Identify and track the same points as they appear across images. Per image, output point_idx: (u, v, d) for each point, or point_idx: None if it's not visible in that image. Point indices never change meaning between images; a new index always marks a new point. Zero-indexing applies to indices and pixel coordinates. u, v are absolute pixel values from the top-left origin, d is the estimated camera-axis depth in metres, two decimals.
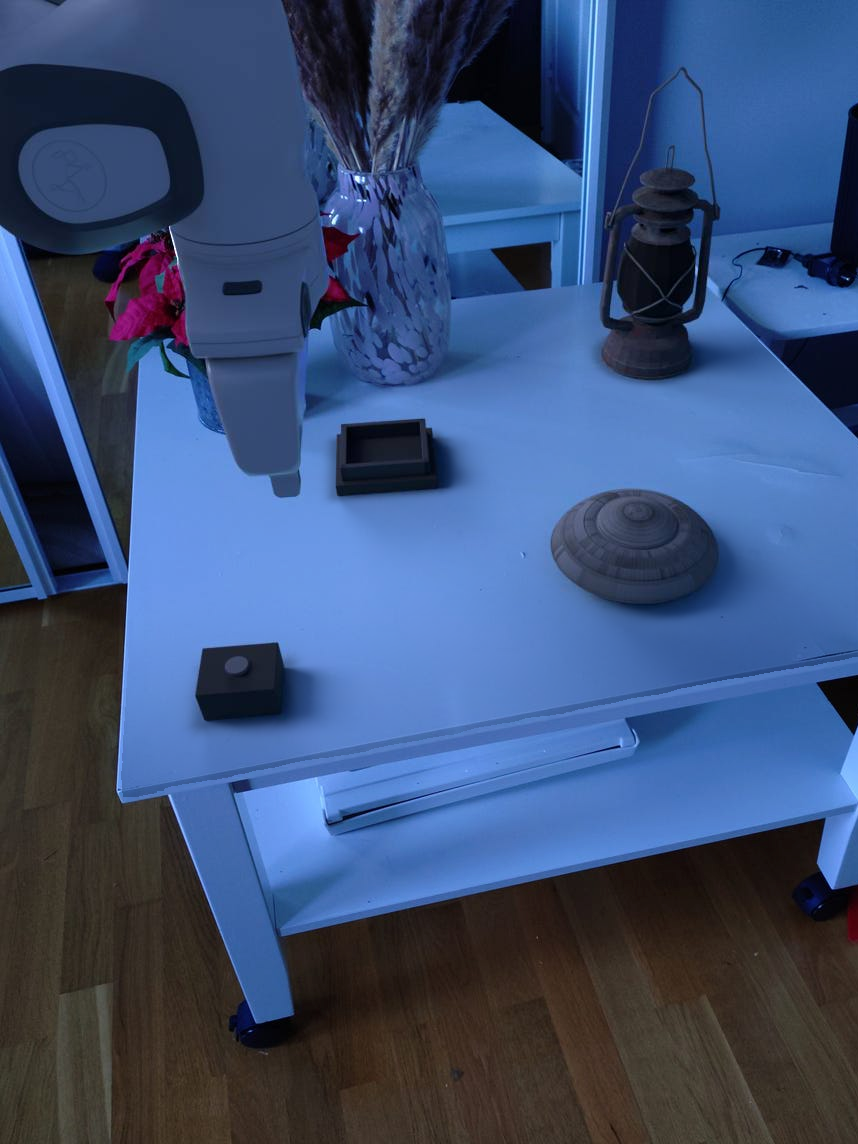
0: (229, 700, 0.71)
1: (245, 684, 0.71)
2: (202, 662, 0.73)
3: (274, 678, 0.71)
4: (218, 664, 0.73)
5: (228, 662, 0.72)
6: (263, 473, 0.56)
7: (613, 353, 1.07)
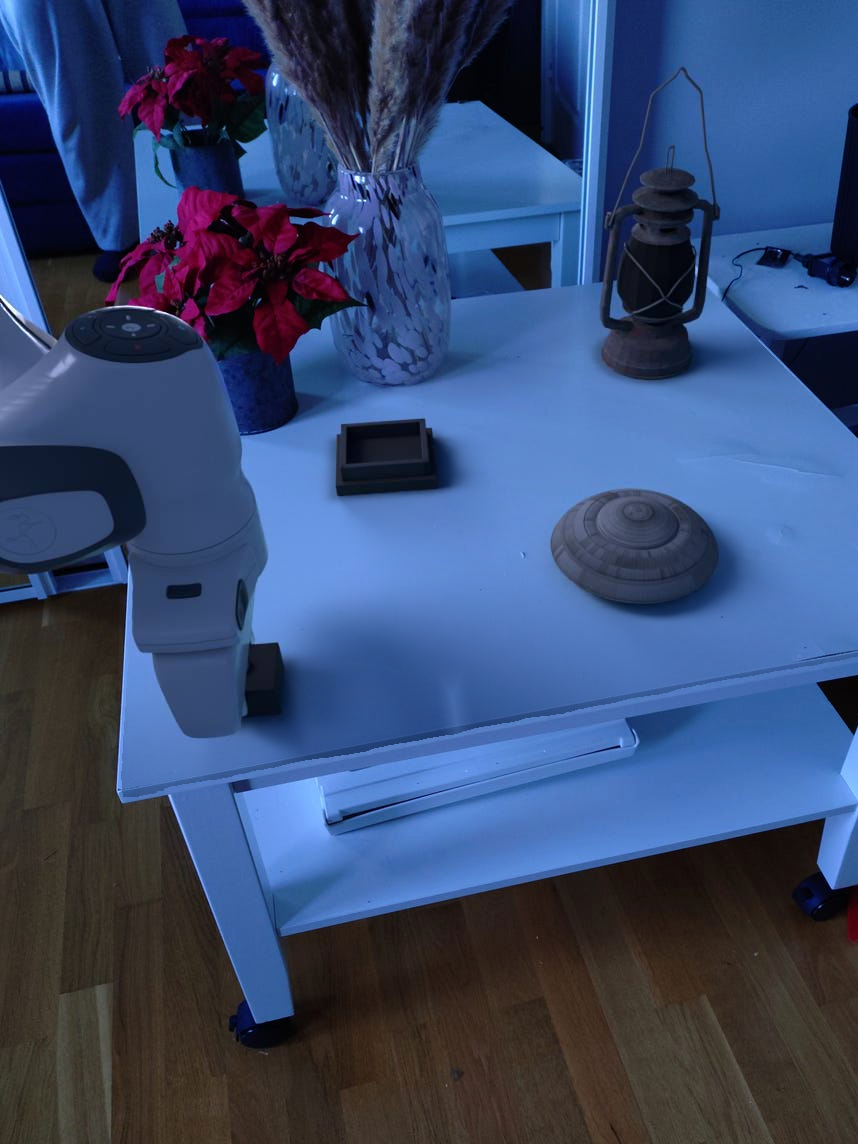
0: None
1: (246, 684, 0.71)
2: None
3: (274, 678, 0.71)
4: None
5: None
6: None
7: (613, 353, 1.07)
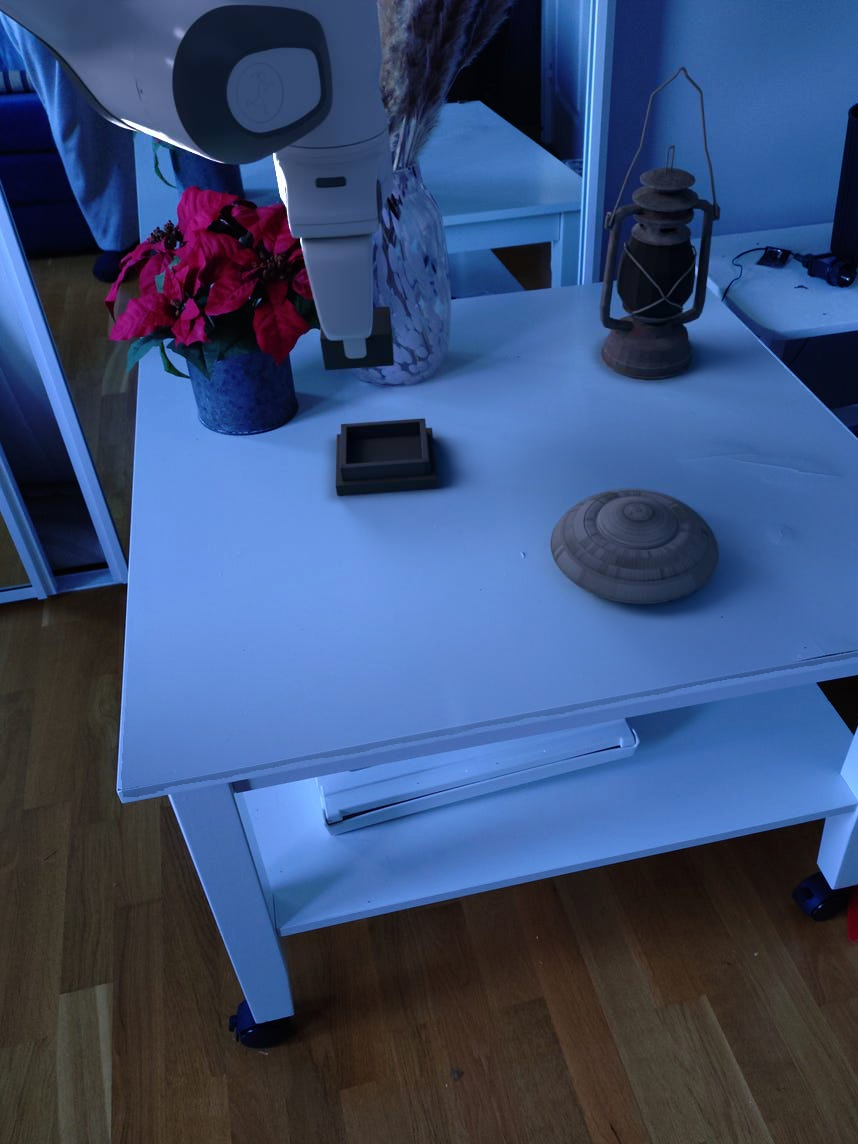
0: None
1: None
2: None
3: (389, 327, 0.80)
4: None
5: None
6: (343, 336, 0.71)
7: (613, 353, 1.07)
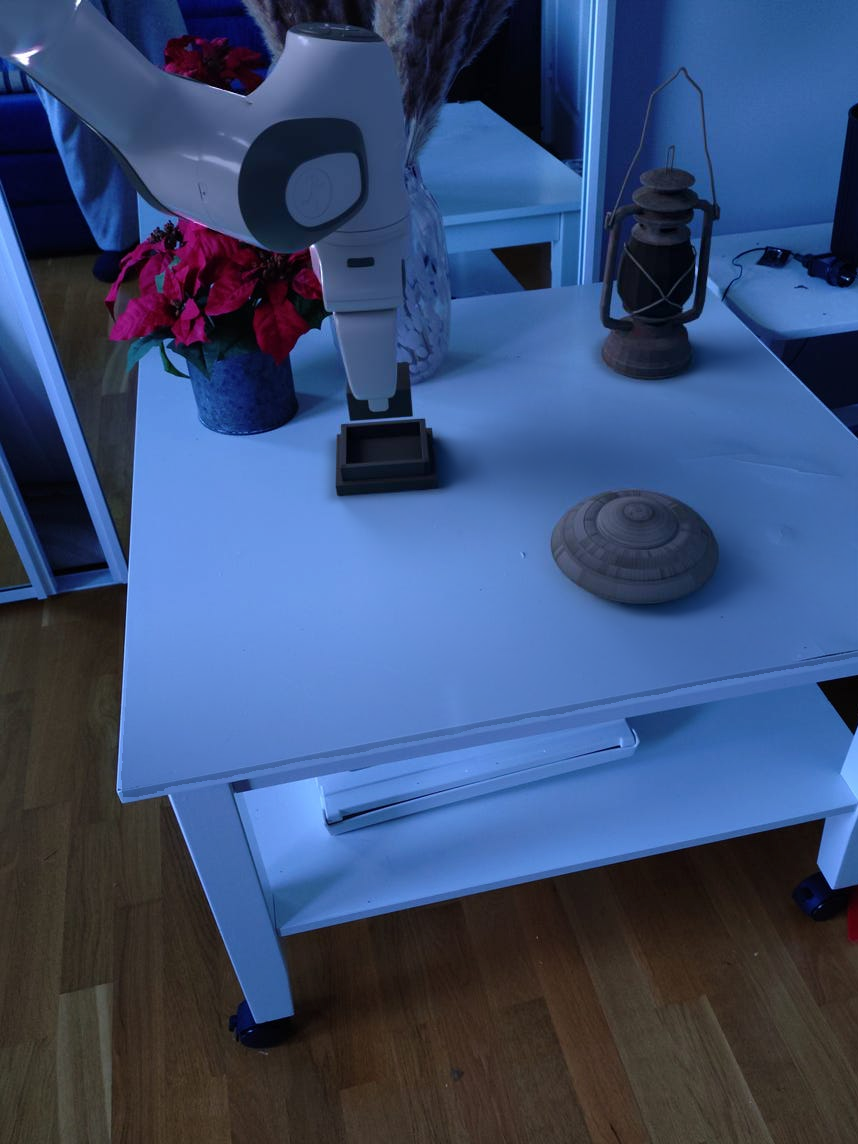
0: None
1: None
2: None
3: (409, 383, 0.87)
4: None
5: None
6: (369, 397, 0.78)
7: (613, 353, 1.07)
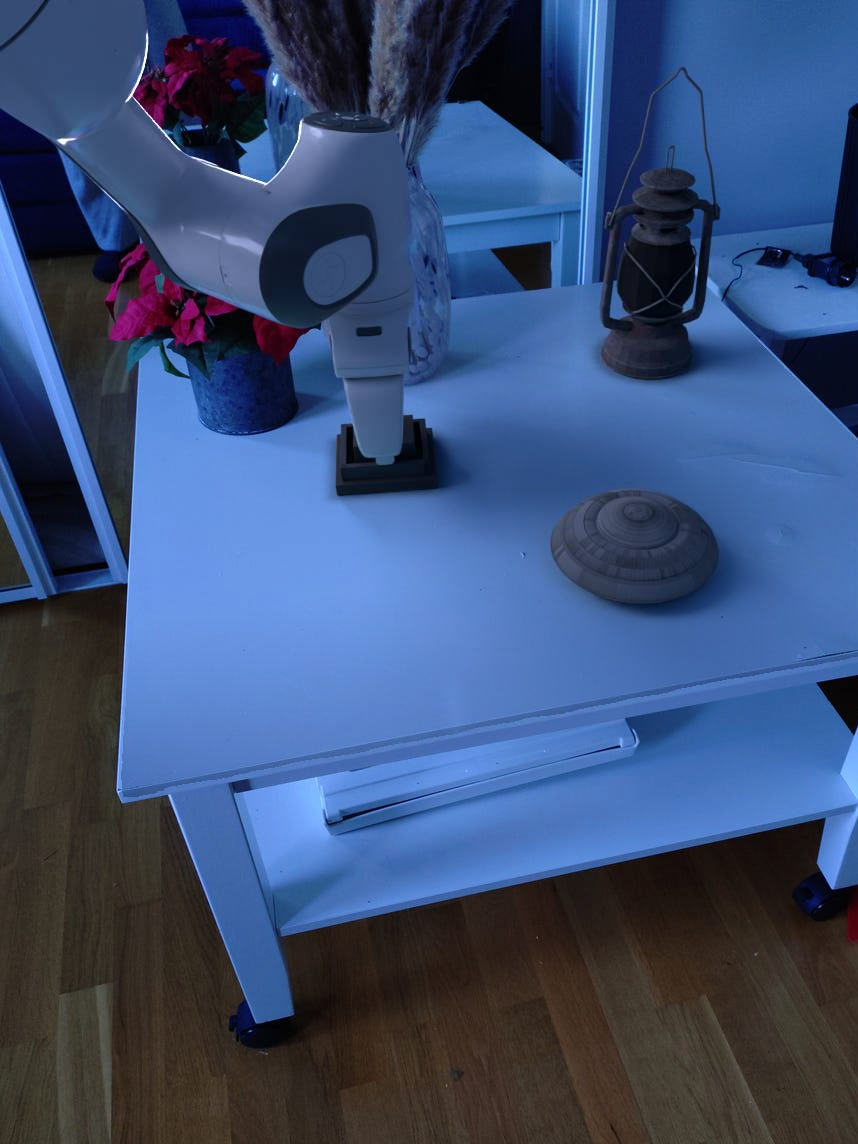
0: None
1: None
2: None
3: (413, 436, 0.92)
4: None
5: None
6: (377, 455, 0.83)
7: (613, 353, 1.07)
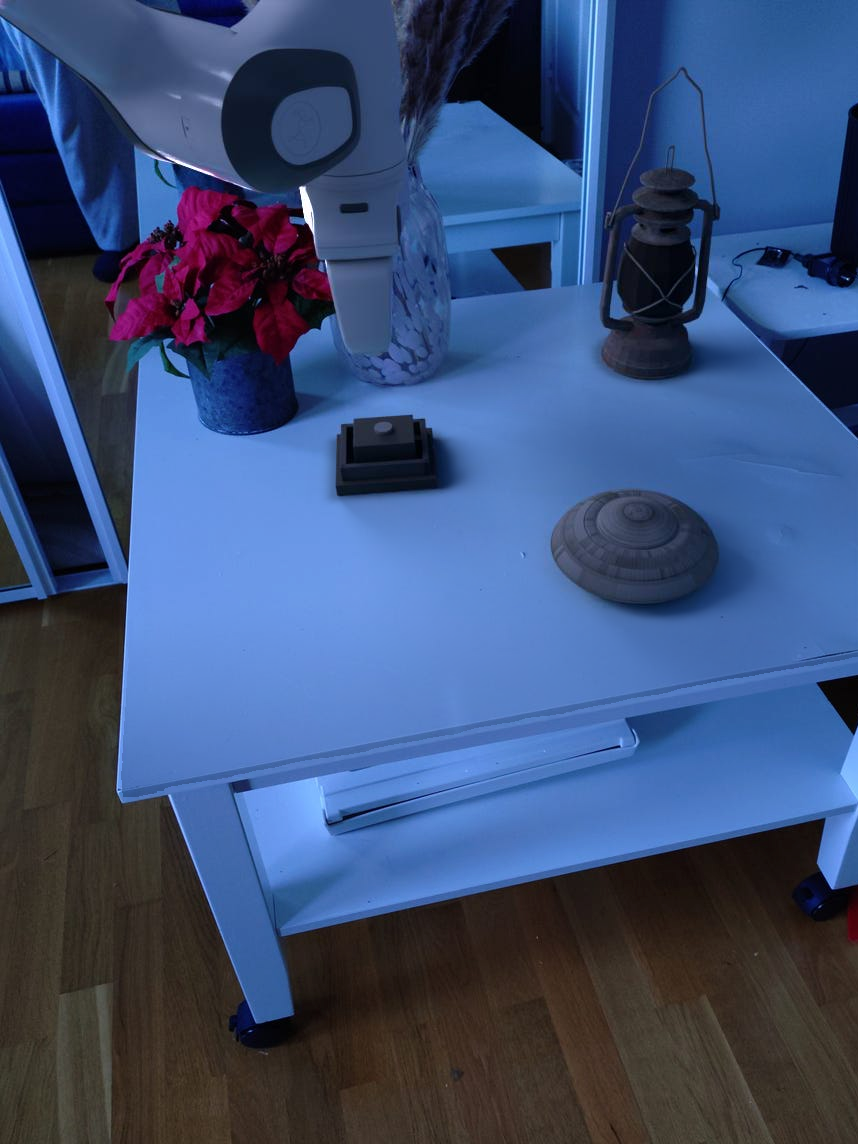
0: (379, 452, 0.91)
1: (392, 439, 0.91)
2: (355, 427, 0.93)
3: (413, 436, 0.92)
4: (368, 428, 0.93)
5: (376, 425, 0.92)
6: (363, 351, 0.75)
7: (613, 353, 1.07)
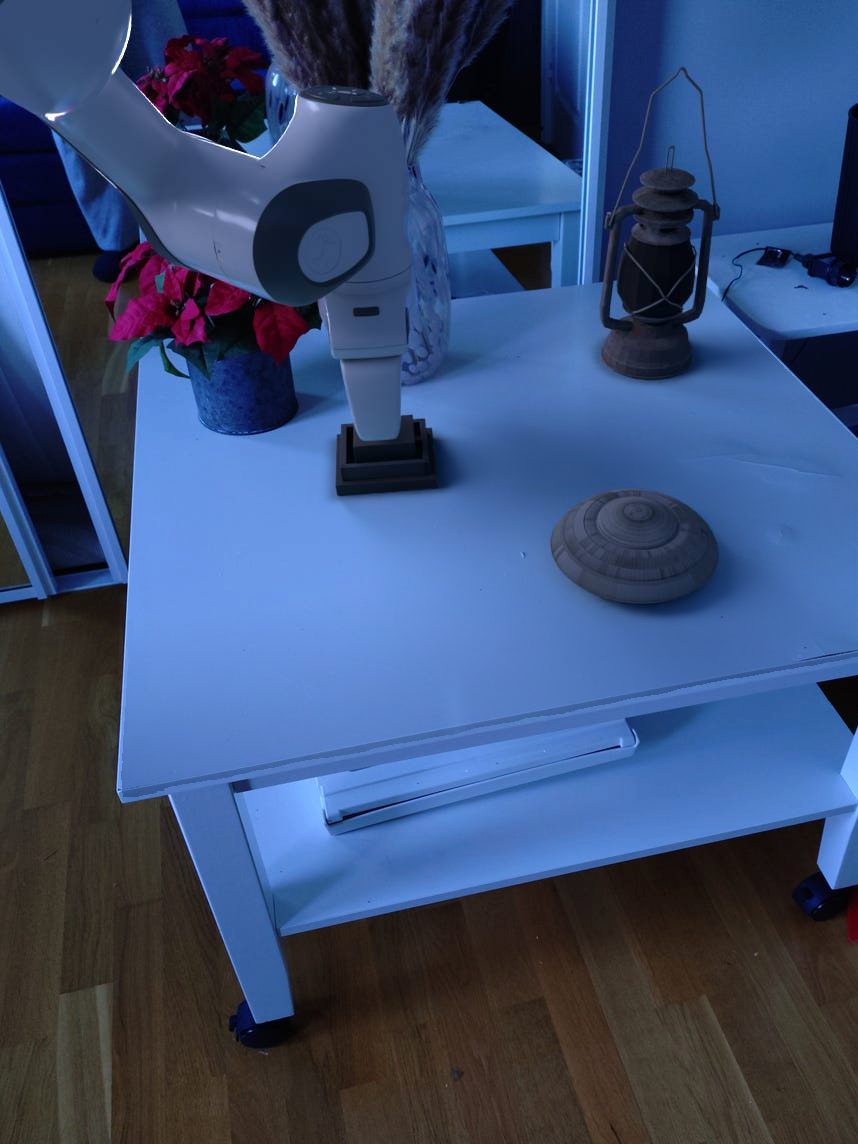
0: (379, 452, 0.91)
1: (392, 439, 0.91)
2: None
3: (413, 436, 0.92)
4: None
5: None
6: (374, 438, 0.81)
7: (613, 353, 1.07)
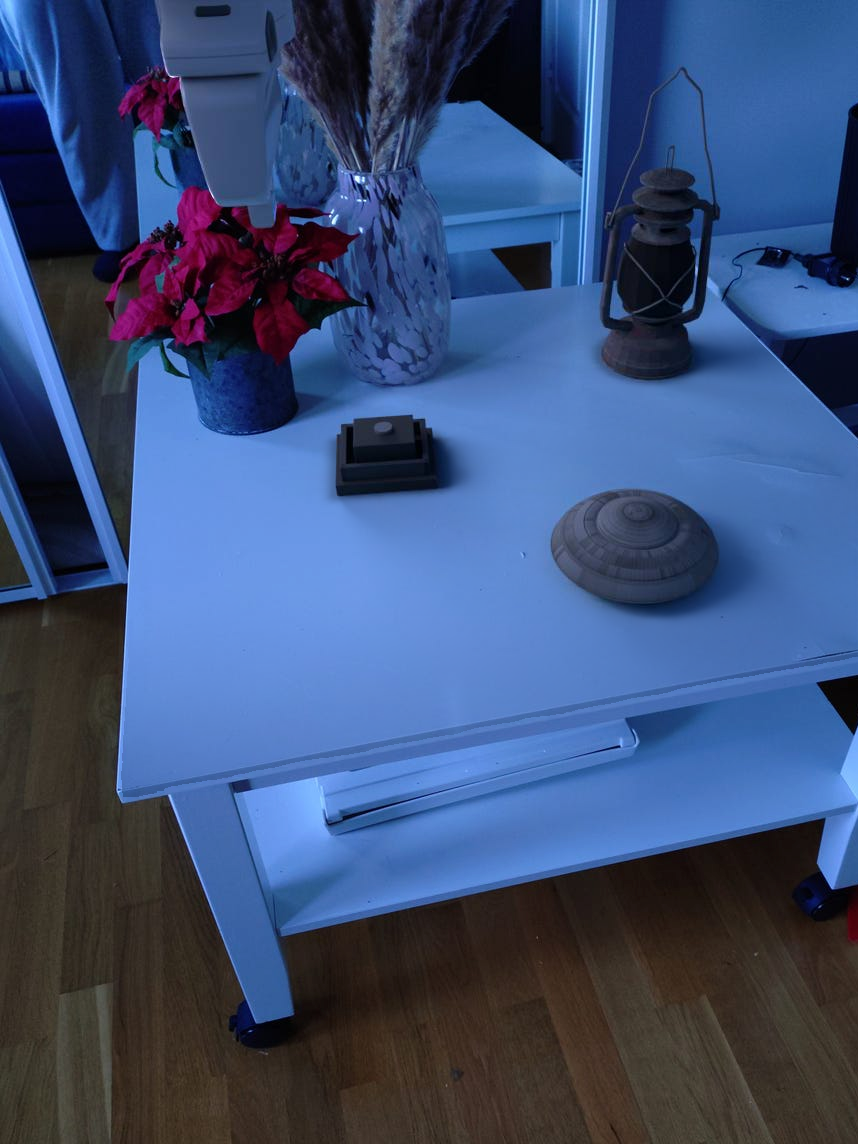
0: (379, 452, 0.91)
1: (392, 439, 0.91)
2: (355, 427, 0.93)
3: (413, 436, 0.92)
4: (368, 428, 0.93)
5: (376, 425, 0.92)
6: (234, 200, 0.61)
7: (613, 353, 1.07)
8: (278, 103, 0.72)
